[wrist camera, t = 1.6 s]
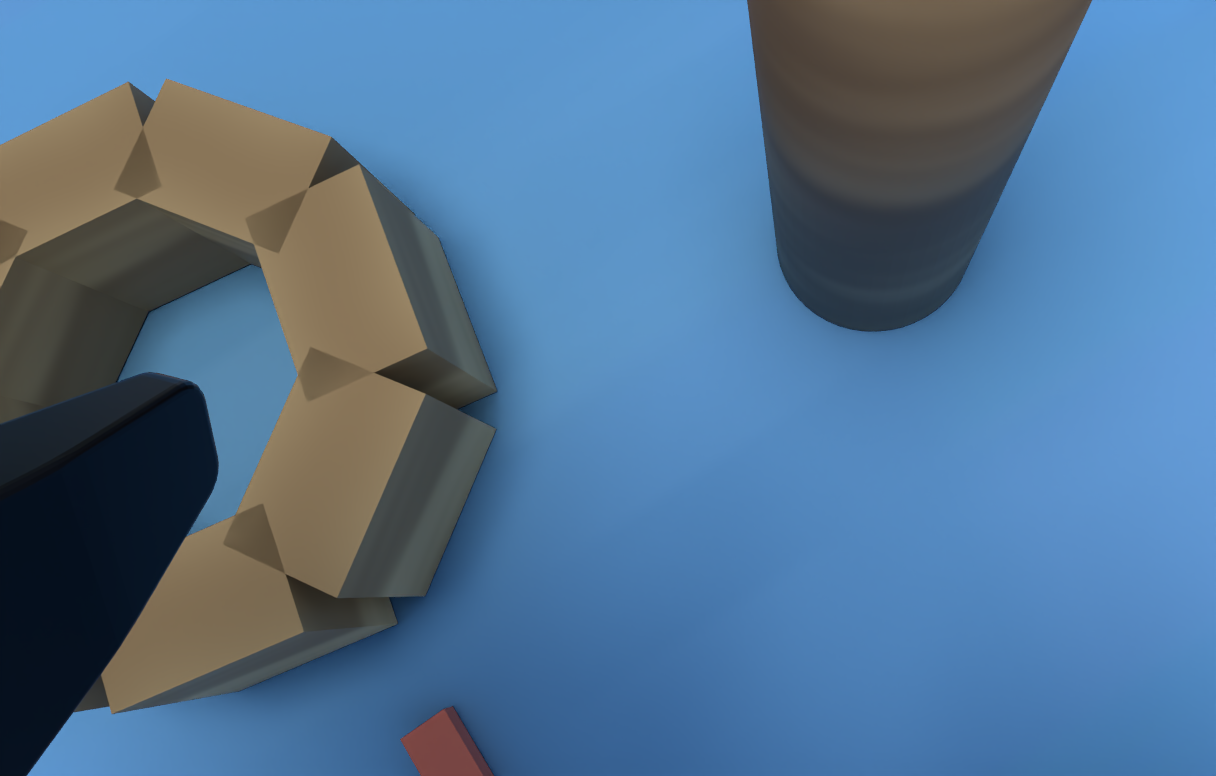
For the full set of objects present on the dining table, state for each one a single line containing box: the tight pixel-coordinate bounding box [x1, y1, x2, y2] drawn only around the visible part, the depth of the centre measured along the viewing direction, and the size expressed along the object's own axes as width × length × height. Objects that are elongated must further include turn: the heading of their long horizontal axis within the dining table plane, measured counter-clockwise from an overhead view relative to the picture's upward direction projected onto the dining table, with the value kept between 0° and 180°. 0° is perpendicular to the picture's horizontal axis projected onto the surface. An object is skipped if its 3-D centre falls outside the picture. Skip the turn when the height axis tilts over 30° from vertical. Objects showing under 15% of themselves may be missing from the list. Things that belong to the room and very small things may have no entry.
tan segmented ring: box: [0, 79, 497, 714], centre depth 21 cm, size 10×10×4 cm
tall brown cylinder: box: [747, 0, 1092, 331], centre depth 13 cm, size 4×4×15 cm
